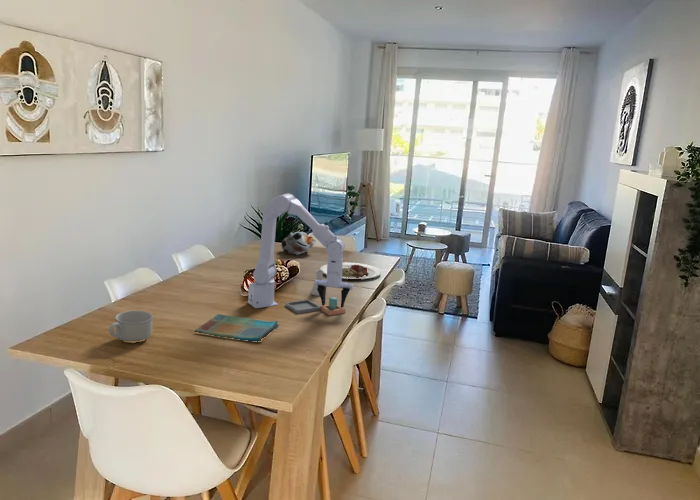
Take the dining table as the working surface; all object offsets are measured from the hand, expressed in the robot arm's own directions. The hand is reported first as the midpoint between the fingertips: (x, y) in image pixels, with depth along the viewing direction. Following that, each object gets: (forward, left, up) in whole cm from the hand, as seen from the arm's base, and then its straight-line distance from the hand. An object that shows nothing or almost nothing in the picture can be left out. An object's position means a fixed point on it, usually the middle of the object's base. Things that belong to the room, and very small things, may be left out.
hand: (332, 305), depth 196 cm
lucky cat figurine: (+34, +92, -3) cm, 98 cm away
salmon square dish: (0, 0, -2) cm, 2 cm away
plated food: (+38, +45, -3) cm, 59 cm away
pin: (0, 0, -2) cm, 2 cm away
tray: (-8, +8, -2) cm, 12 cm away
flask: (+6, +22, -3) cm, 23 cm away
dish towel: (-38, -2, -3) cm, 39 cm away
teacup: (-72, +3, -3) cm, 72 cm away
